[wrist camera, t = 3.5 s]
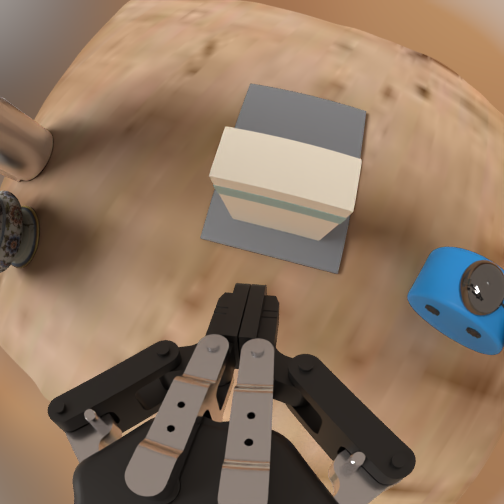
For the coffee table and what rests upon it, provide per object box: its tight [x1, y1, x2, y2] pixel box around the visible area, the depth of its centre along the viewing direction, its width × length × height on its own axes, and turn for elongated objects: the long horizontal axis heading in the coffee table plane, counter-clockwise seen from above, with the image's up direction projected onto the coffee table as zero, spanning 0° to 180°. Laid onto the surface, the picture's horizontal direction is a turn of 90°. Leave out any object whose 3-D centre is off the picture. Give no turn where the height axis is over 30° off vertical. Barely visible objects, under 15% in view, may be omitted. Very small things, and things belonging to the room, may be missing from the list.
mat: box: [200, 84, 366, 274], centre depth 34 cm, size 22×16×1 cm
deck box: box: [209, 127, 362, 241], centre depth 26 cm, size 4×10×14 cm, turn 76°
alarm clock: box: [408, 247, 504, 355], centre depth 24 cm, size 13×6×15 cm, turn 55°
